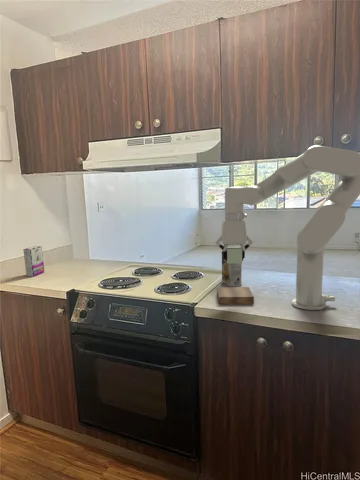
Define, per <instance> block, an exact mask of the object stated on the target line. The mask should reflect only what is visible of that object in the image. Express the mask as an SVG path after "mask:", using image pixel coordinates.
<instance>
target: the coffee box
mask: <svg viewBox="0 0 360 480" xmlns="http://www.w3.org/2000/svg"><path fill="white" fill-rule="evenodd" d="M242 264H243V262H242V263H232V264H227V261H225V258H223V250H222V251H221V283H223V284H225V285H227V287H240V286H242V267H243V266H242Z"/></svg>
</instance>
